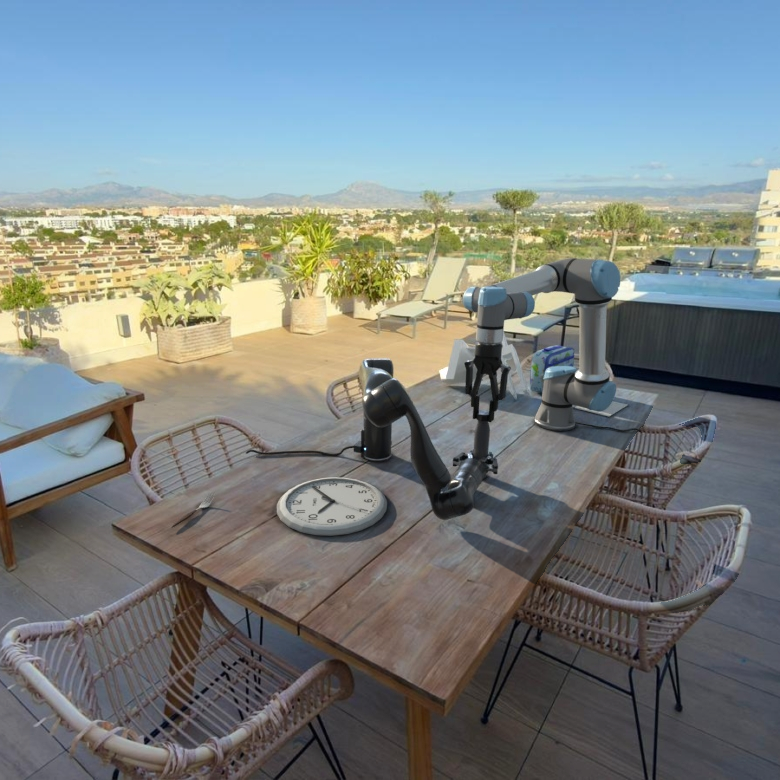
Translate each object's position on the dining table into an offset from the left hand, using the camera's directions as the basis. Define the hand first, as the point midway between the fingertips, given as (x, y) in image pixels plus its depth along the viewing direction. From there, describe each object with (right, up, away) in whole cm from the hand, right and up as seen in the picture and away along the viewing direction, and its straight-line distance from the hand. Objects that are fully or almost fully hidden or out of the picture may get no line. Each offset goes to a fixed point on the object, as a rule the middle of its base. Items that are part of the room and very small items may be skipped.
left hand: (482, 453), depth 162 cm
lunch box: (+47, +19, +86) cm, 100 cm away
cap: (-1, +13, -7) cm, 14 cm away
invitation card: (+63, +12, +64) cm, 91 cm away
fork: (-80, -13, -25) cm, 85 cm away
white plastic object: (+13, +18, +81) cm, 84 cm away
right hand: (-1, +11, -6) cm, 13 cm away
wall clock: (-44, -12, -19) cm, 50 cm away
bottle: (-1, -7, 0) cm, 7 cm away
